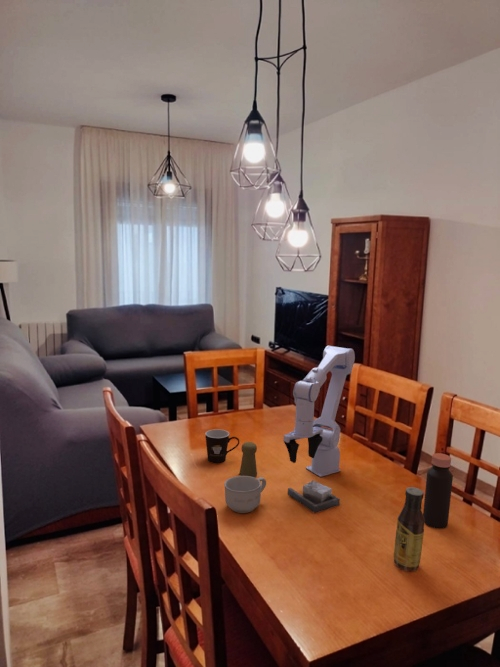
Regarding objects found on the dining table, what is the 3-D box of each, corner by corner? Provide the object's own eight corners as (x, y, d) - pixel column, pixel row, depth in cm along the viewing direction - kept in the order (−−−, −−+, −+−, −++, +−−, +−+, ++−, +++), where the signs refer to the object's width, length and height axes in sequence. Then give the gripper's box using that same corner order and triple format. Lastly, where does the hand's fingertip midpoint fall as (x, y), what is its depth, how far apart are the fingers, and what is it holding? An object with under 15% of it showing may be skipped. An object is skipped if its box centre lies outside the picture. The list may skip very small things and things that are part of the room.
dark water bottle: (417, 521, 139) (423, 455, 136) (431, 514, 143) (437, 449, 140) (439, 532, 134) (446, 463, 131) (452, 524, 138) (459, 458, 135)
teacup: (233, 520, 136) (234, 494, 135) (217, 503, 146) (218, 477, 145) (276, 510, 143) (277, 484, 141) (258, 493, 152) (259, 469, 151)
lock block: (311, 495, 153) (312, 480, 152) (330, 503, 148) (331, 488, 147) (301, 500, 149) (302, 485, 148) (320, 509, 144) (321, 493, 143)
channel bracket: (311, 487, 158) (311, 481, 157) (339, 505, 147) (339, 499, 146) (287, 494, 152) (288, 488, 152) (314, 513, 142) (315, 507, 141)
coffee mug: (200, 462, 174) (201, 435, 172) (211, 453, 182) (211, 427, 180) (230, 468, 170) (230, 441, 168) (239, 459, 177) (240, 433, 176)
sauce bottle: (389, 557, 122) (395, 483, 119) (413, 557, 122) (420, 483, 119) (399, 574, 115) (406, 496, 112) (424, 574, 116) (432, 496, 113)
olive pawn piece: (255, 479, 162) (256, 447, 160) (237, 476, 163) (238, 445, 162) (258, 471, 168) (259, 441, 166) (241, 469, 169) (242, 439, 167)
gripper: (313, 411, 161) (311, 450, 163) (278, 418, 153) (276, 459, 156) (328, 418, 155) (325, 458, 158) (292, 425, 148) (290, 467, 150)
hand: (302, 459), depth 156 cm, fingers open, 7 cm apart
